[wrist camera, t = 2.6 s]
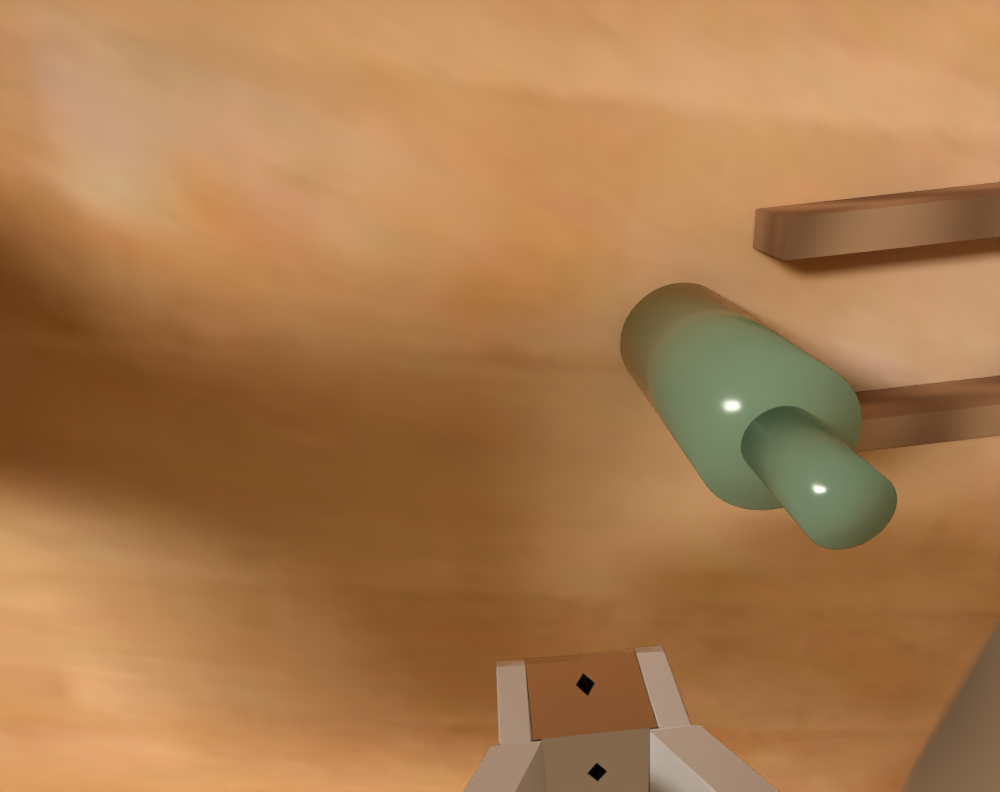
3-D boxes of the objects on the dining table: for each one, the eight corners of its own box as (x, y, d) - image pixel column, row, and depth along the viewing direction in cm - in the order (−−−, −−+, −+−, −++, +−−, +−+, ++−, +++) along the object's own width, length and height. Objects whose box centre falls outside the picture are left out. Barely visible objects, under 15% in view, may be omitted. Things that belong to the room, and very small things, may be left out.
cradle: (739, 434, 28) (781, 482, 24) (756, 208, 24) (810, 224, 20) (1039, 400, 28) (1126, 441, 24) (1108, 170, 24) (1225, 178, 20)
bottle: (621, 396, 27) (742, 602, 15) (619, 289, 25) (757, 433, 13) (729, 384, 27) (930, 579, 15) (736, 276, 25) (973, 408, 13)
